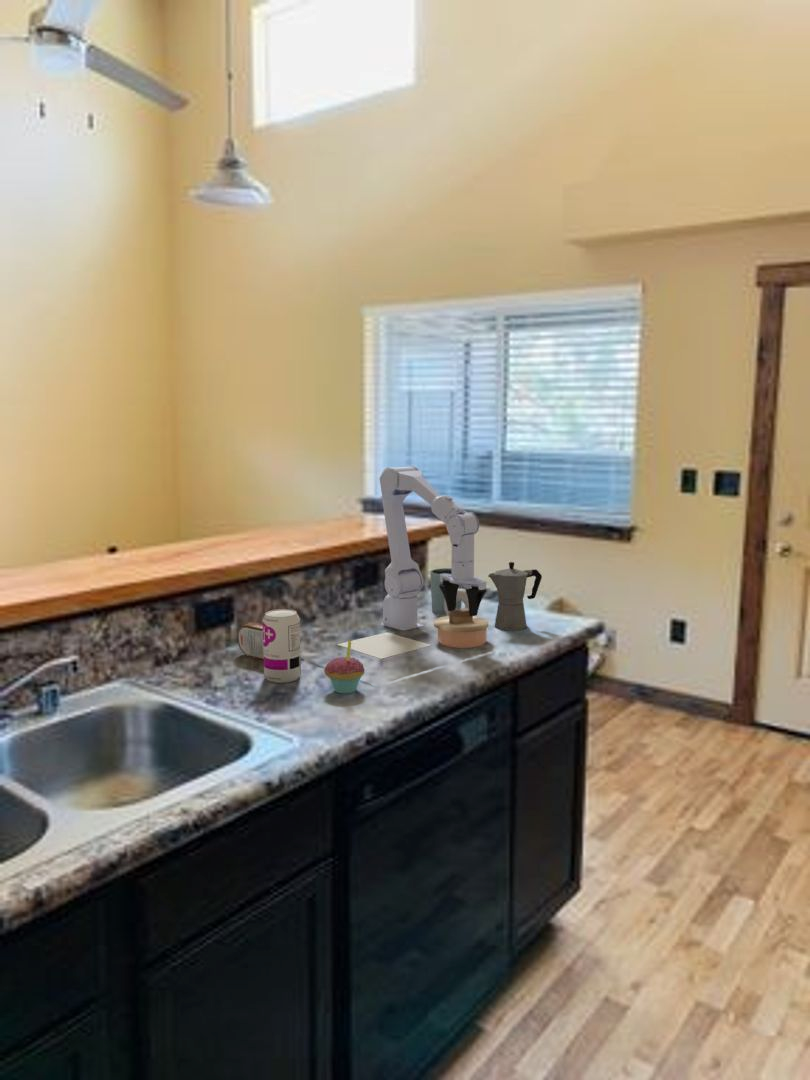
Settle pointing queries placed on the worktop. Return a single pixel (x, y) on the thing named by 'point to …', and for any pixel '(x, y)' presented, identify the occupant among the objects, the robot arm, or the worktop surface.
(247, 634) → the tin
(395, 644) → the mat
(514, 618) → the coffeepot
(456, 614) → the lid
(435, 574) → the teal cup
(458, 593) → the donut
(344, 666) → the cupcake
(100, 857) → the worktop surface
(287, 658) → the supplement can
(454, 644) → the bowl
